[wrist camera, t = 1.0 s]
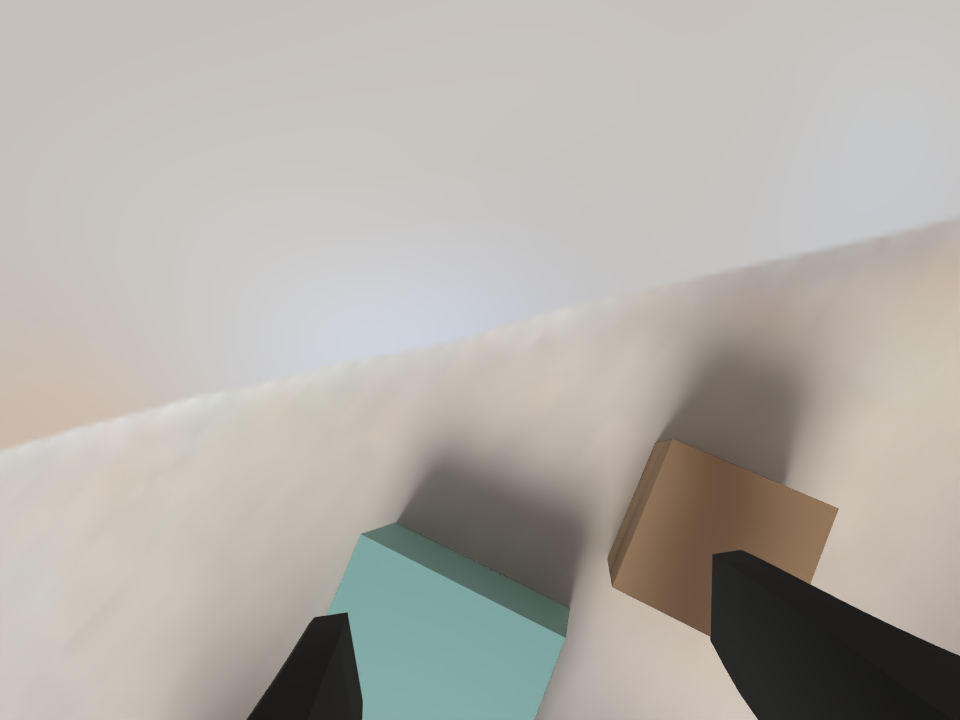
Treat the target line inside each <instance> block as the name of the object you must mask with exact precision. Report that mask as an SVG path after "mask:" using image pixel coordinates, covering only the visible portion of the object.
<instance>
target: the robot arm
mask: <svg viewBox="0 0 960 720" xmlns="http://www.w3.org/2000/svg"><path fill="white" fill-rule="evenodd" d="M710 640H711V642H712V644H713V646H714V648H715V650H716V652H717V654H718V655H719V657H720V659H721V661H722V663H723V665H724V667H725V669H726V670H727V672H728V674H729V676H730V677H731V679H732V681H733V683H734V684H735V686H736V688H737V690H738V691H739V693H740V694H741V696H742V697H743V699H744V700H745V702H746V703H747V705H748V706H749V707H750V709H751V710H752V712H753V713H754V714H755V716H756V717H757V719H758V720H960V656H959V655H956V654H954V653H952V652H949V651H947V650H945V649H942V648H940V647H938V646H935V645H933V644H931V643H929V642H927V641H924V640H922V639H920V638H918V637H916V636H914V635H911V634H909V633H907V632H905V631H903V630H901V629H898V628H896V627H894V626H892V625H890V624H888V623H886V622H884V621H882V620H880V619H877V618H875V617H873V616H871V615H869V614H867V613H865V612H863V611H861V610H859V609H857V608H855V607H853V606H851V605H849V604H847V603H845V602H843V601H841V600H839V599H837V598H836V597H834V596H832V595H830V594H828V593H826V592H824V591H822V590H820V589H818V588H816V587H814V586H812V585H810V584H809V583H807V582H805V581H803V580H801V579H799V578H797V577H795V576H793V575H791V574H789V573H788V572H786V571H784V570H782V569H780V568H778V567H776V566H774V565H772V564H770V563H768V562H766V561H764V560H762V559H760V558H758V557H756V556H754V555H752V554H750V553H748V552H745V551H743V550H736V551H730V552H723V553H717V554H712V596H711V639H710ZM362 714H363V699H362V693H361V687H360V681H359V675H358V670H357V664H356V658H355V652H354V647H353V641H352V635H351V629H350V623H349V618H348V612H345V613H339V614H333V615H326V616H320V617H314V619H313V620H312V621H311V622H310V623H309V625H308V626H307V628H306V630H305V631H304V633H303V635H302V636H301V638H300V639H299V641H298V643H297V644H296V646H295V647H294V649H293V651H292V652H291V654H290V655H289V657H288V659H287V660H286V662H285V663H284V665H283V666H282V668H281V669H280V671H279V673H278V674H277V676H276V677H275V679H274V680H273V682H272V683H271V685H270V686H269V688H268V689H267V691H266V692H265V693H264V695H263V696H262V698H261V699H260V701H259V702H258V704H257V705H256V707H255V708H254V710H253V711H252V713H251V714H250V715H249V717H248V718H247V720H362Z"/></svg>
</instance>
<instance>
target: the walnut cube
mask: <svg viewBox="0 0 960 720" xmlns="http://www.w3.org/2000/svg"><path fill="white" fill-rule="evenodd" d="M837 512H838V508H836V507H834V506H831V505H829V504H826V503H824V502H822V501H819V500H817V499H815V498H812V497H810V496H807V495H805V494H803V493H800V492H798V491H795V490H793V489H791V488H788V487H786V486H784V485H781V484H779V483H776V482H774V481H772V480H769V479H767V478H765V477H762V476H760V475H757V474H755V473H753V472H750V471H748V470H746V469H743V468H741V467H738V466H736V465H734V464H731V463H729V462H726V461H724V460H722V459H719V458H717V457H715V456H712V455H710V454H707V453H705V452H703V451H700V450H698V449H696V448H693V447H691V446H688V445H686V444H684V443H681V442H679V441H677V440H674V439H671V440H666V441H662V442H658V443H655V445H654V447H653V450H652V452H651V455H650V457H649V459H648V462H647V464H646V467H645V469H644V472H643V474H642V476H641V479H640V481H639V484H638V486H637V489H636V491H635V493H634V496H633V498H632V501H631V503H630V506H629V508H628V510H627V513H626V515H625V518H624V520H623V523H622V525H621V527H620V530H619V532H618V535H617V537H616V540H615V542H614V544H613V547H612V549H611V552H610V554H609V557H608V565H609V571H610V577H611V583H612V587H613V588H615V589H617V590H619V591H621V592H623V593H625V594H627V595H629V596H631V597H633V598H635V599H637V600H639V601H641V602H643V603H645V604H647V605H649V606H651V607H653V608H655V609H657V610H659V611H661V612H663V613H665V614H667V615H669V616H671V617H673V618H675V619H677V620H679V621H681V622H683V623H685V624H687V625H689V626H691V627H693V628H695V629H697V630H698V631H700V632H702V633H704V634H706V635H708V636H710V637H711V596H712V554H717V553H723V552H730V551H736V550H743V551H745V552H748V553H750V554H752V555H754V556H756V557H758V558H760V559H762V560H764V561H766V562H768V563H770V564H772V565H774V566H776V567H778V568H780V569H782V570H784V571H786V572H788V573H789V574H791V575H793V576H795V577H797V578H799V579H801V580H803V581H805V582H807V583H809V584H810V583H811V580H812V578H813V575H814V572H815V570H816V567H817V564H818V562H819V559H820V557H821V554H822V551H823V549H824V546H825V543H826V541H827V538H828V535H829V533H830V530H831V527H832V525H833V522H834V519H835V517H836V514H837Z"/></svg>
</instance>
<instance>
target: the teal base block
mask: <svg viewBox="0 0 960 720" xmlns="http://www.w3.org/2000/svg"><path fill="white" fill-rule="evenodd" d="M569 609H570V608H568V607H566V606H564V605H562V604H560V603H558V602H556V601H554V600H552V599H550V598H548V597H546V596H544V595H542V594H540V593H538V592H536V591H534V590H532V589H530V588H528V587H526V586H524V585H522V584H520V583H518V582H516V581H514V580H512V579H510V578H507V577H505V576H503V575H501V574H499V573H497V572H495V571H493V570H491V569H489V568H487V567H485V566H483V565H481V564H479V563H477V562H475V561H473V560H471V559H469V558H467V557H465V556H463V555H461V554H459V553H457V552H455V551H453V550H451V549H449V548H446V547H444V546H442V545H440V544H438V543H436V542H434V541H432V540H430V539H428V538H426V537H424V536H422V535H420V534H418V533H416V532H414V531H412V530H410V529H408V528H406V527H404V526H402V525H400V524H398V523H393V524H390V525H387V526H384V527H381V528H378V529H375V530H372V531H369V532H366V533H363V534H361V535H360V537H359V540H358V542H357V545H356V547H355V549H354V552H353V554H352V556H351V559H350V561H349V563H348V566H347V568H346V571H345V573H344V575H343V578H342V580H341V582H340V585H339V587H338V589H337V592H336V594H335V597H334V599H333V601H332V604H331V606H330V608H329V611H328V613H327V615H333V614H339V613H345V612H348V618H349V623H350V629H351V635H352V641H353V647H354V652H355V658H356V664H357V670H358V675H359V681H360V687H361V693H362V699H363V714H362V720H534V719H535V717H536V714H537V711H538V709H539V706H540V703H541V701H542V698H543V696H544V693H545V690H546V688H547V685H548V682H549V680H550V677H551V675H552V672H553V669H554V667H555V664H556V661H557V659H558V656H559V654H560V651H561V648H562V646H563V643H564V640H565V638H566V631H567V623H568V616H569Z"/></svg>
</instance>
